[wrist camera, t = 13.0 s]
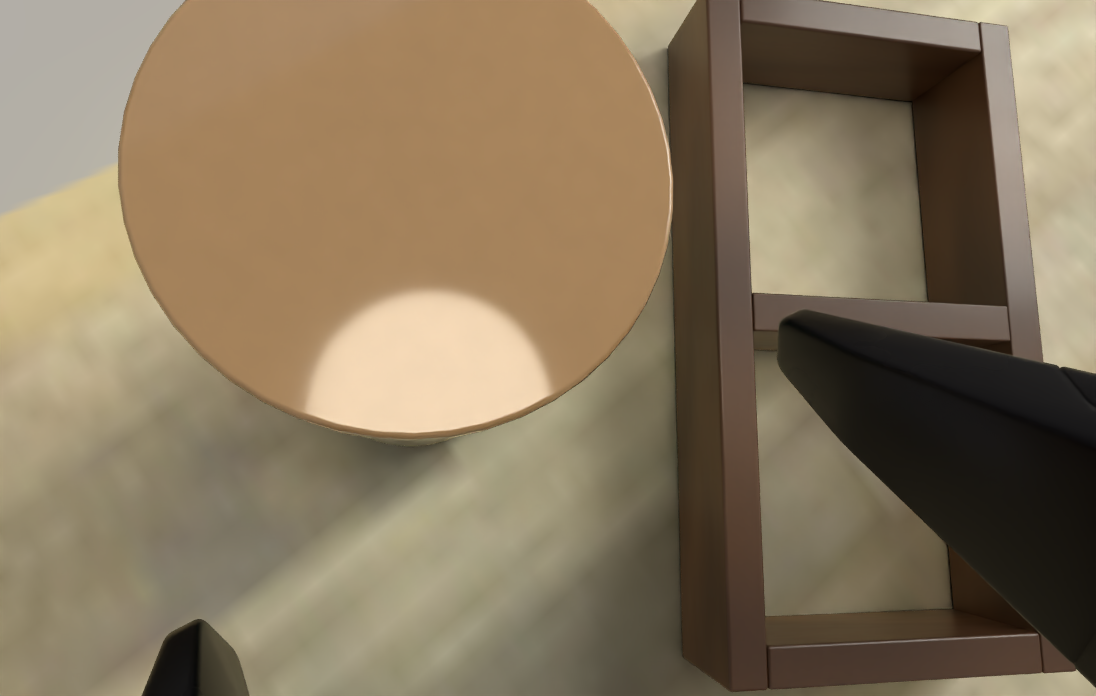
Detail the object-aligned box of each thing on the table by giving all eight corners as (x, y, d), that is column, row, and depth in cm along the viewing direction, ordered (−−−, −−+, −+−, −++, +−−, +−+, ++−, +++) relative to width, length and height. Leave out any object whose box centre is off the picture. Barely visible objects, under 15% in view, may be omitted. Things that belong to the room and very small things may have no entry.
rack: (984, 642, 21) (1077, 671, 18) (681, 657, 19) (730, 693, 16) (935, 77, 24) (1008, 25, 21) (667, 45, 22) (706, -18, 19)
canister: (532, 433, 19) (716, 398, 8) (314, 465, 18) (137, 483, 6) (503, 231, 20) (631, -82, 8) (291, 250, 19) (95, -87, 7)
